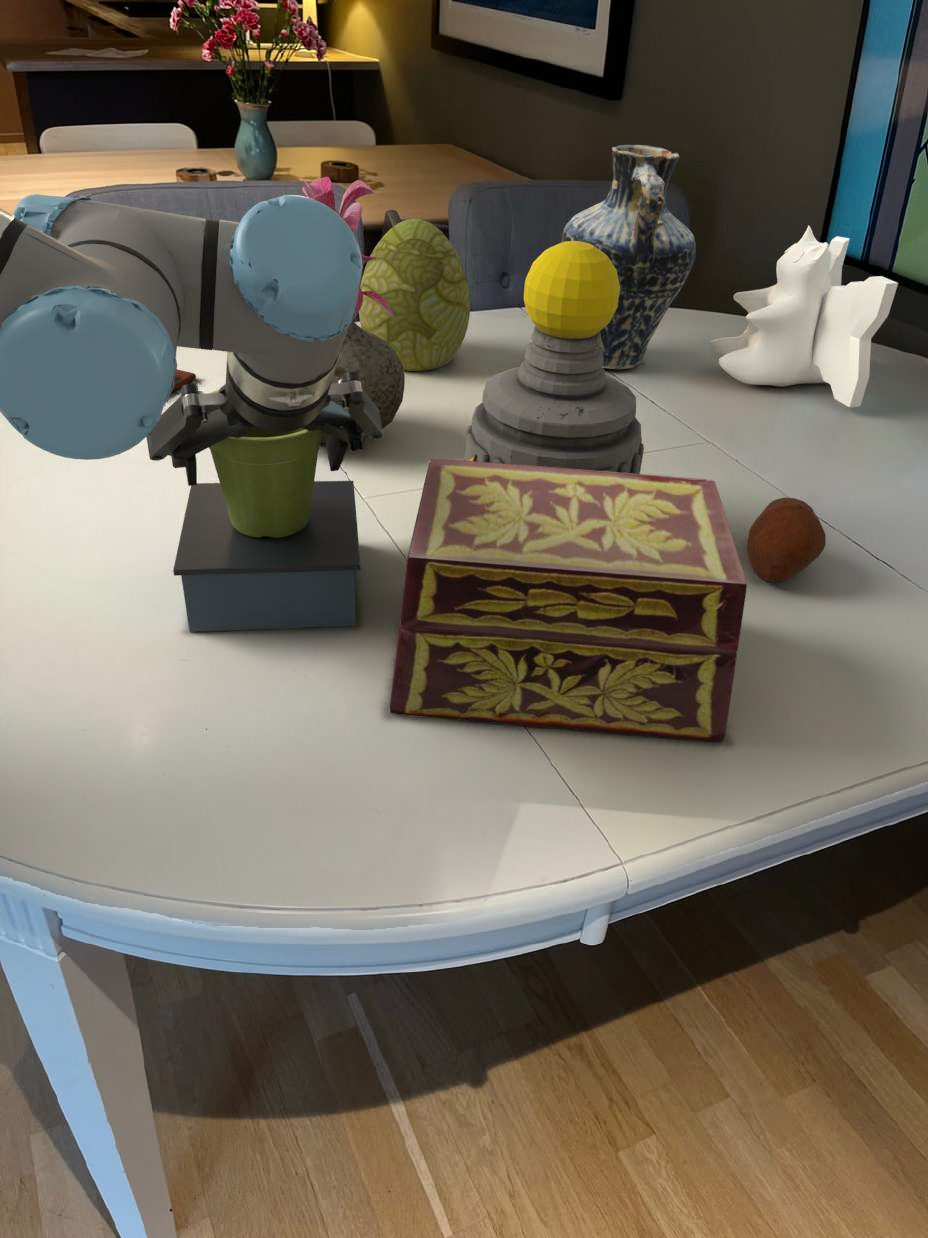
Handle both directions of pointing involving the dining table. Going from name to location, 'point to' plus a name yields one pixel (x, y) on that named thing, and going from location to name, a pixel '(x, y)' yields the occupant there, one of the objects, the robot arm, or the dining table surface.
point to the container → (269, 565)
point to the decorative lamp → (562, 376)
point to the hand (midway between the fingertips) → (262, 464)
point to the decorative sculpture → (417, 295)
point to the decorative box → (570, 601)
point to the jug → (637, 248)
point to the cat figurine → (809, 324)
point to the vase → (360, 346)
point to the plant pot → (268, 479)
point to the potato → (784, 539)
